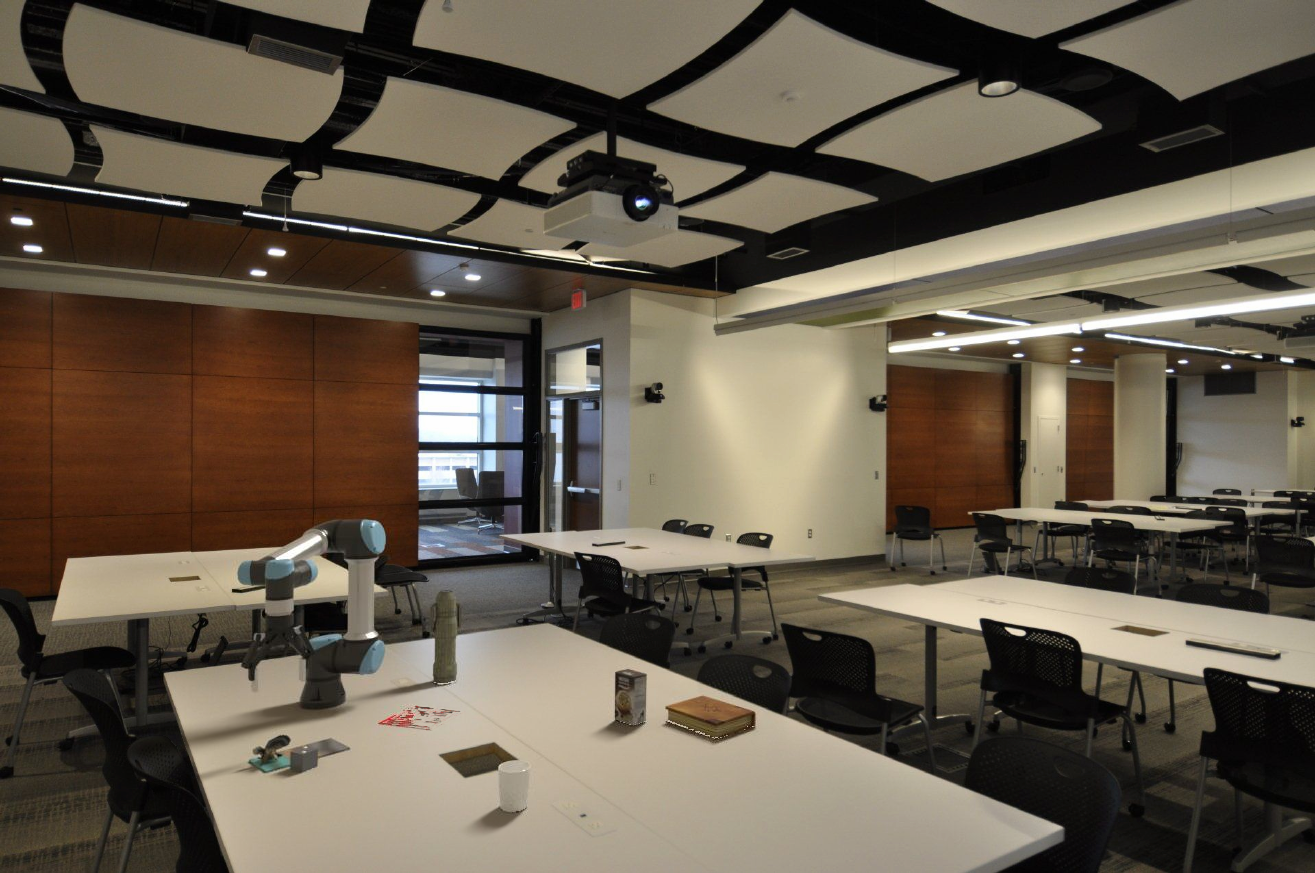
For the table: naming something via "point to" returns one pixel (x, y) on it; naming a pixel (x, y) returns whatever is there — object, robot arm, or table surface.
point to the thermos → (445, 635)
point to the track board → (323, 747)
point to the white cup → (514, 785)
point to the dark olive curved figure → (272, 748)
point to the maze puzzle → (395, 719)
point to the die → (303, 759)
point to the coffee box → (630, 696)
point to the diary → (711, 716)
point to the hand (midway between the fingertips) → (279, 685)
